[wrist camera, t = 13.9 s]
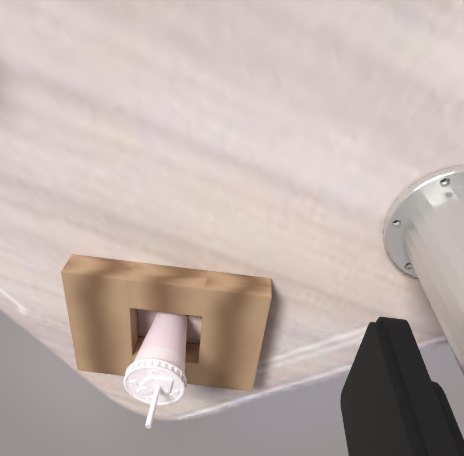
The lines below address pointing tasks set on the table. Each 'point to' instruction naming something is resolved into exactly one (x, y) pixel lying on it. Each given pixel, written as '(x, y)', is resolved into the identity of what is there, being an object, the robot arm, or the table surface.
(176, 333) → the smoothie
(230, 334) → the socket board
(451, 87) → the table surface
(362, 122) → the table surface
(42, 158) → the table surface
